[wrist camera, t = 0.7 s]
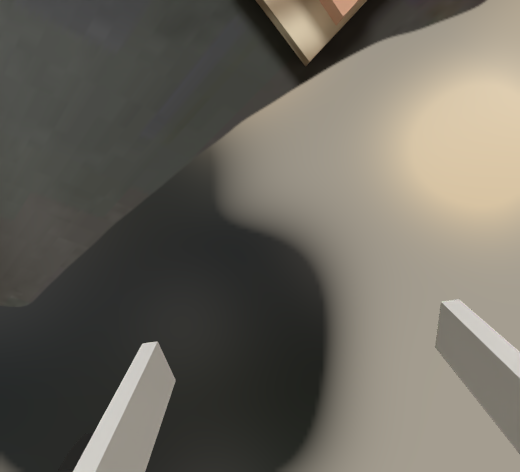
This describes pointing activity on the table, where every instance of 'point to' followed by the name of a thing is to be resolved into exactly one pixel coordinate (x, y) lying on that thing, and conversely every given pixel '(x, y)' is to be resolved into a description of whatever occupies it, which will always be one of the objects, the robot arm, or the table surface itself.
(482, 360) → the robot arm
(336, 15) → the block
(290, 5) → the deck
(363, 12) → the table surface
